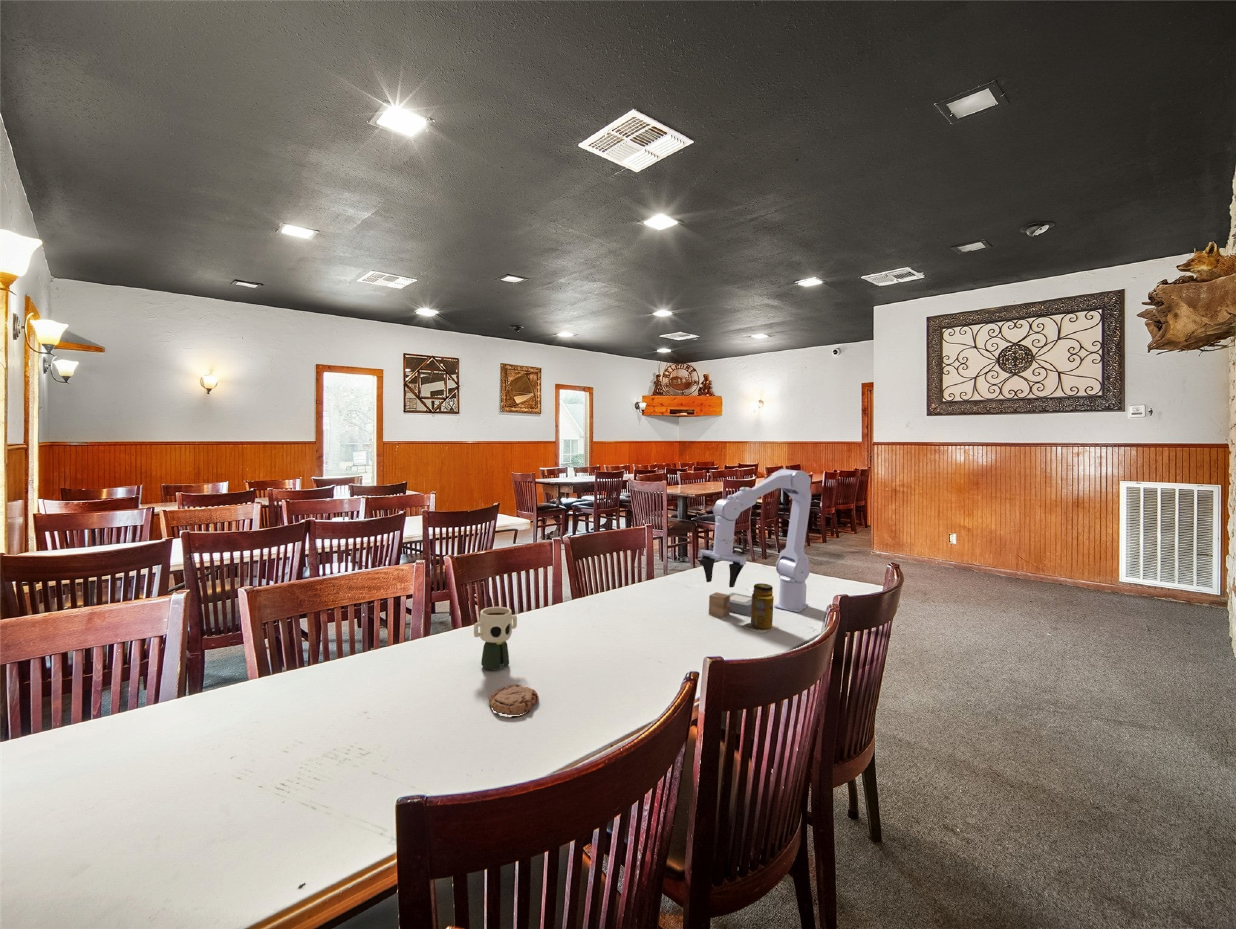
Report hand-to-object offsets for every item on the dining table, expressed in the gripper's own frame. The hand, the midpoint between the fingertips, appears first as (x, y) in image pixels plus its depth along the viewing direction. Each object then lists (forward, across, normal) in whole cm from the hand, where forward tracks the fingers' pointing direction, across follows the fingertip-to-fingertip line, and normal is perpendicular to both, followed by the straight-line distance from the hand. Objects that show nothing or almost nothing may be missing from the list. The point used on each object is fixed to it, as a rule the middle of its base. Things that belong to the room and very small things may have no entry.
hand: (720, 584), depth 177 cm
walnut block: (+10, 0, +1) cm, 10 cm away
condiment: (+10, +14, -1) cm, 17 cm away
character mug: (+13, -22, -68) cm, 73 cm away
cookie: (+14, -4, -79) cm, 80 cm away
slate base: (+9, +2, +11) cm, 15 cm away
